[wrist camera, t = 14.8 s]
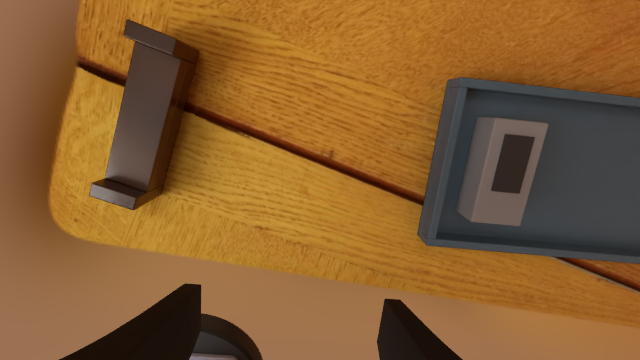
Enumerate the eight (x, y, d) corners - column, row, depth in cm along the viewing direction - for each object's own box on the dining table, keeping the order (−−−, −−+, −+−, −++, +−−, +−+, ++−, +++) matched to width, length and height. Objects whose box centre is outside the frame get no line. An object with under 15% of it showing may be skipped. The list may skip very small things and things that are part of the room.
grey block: (499, 214, 19) (522, 227, 17) (454, 210, 19) (472, 223, 17) (523, 121, 18) (552, 123, 16) (475, 116, 18) (497, 117, 16)
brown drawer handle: (161, 195, 19) (133, 211, 16) (123, 182, 19) (88, 196, 16) (200, 50, 17) (176, 38, 14) (158, 34, 17) (125, 18, 14)
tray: (769, 265, 21) (807, 278, 20) (417, 234, 20) (426, 245, 18) (841, 125, 19) (891, 126, 17) (447, 79, 18) (461, 77, 16)
